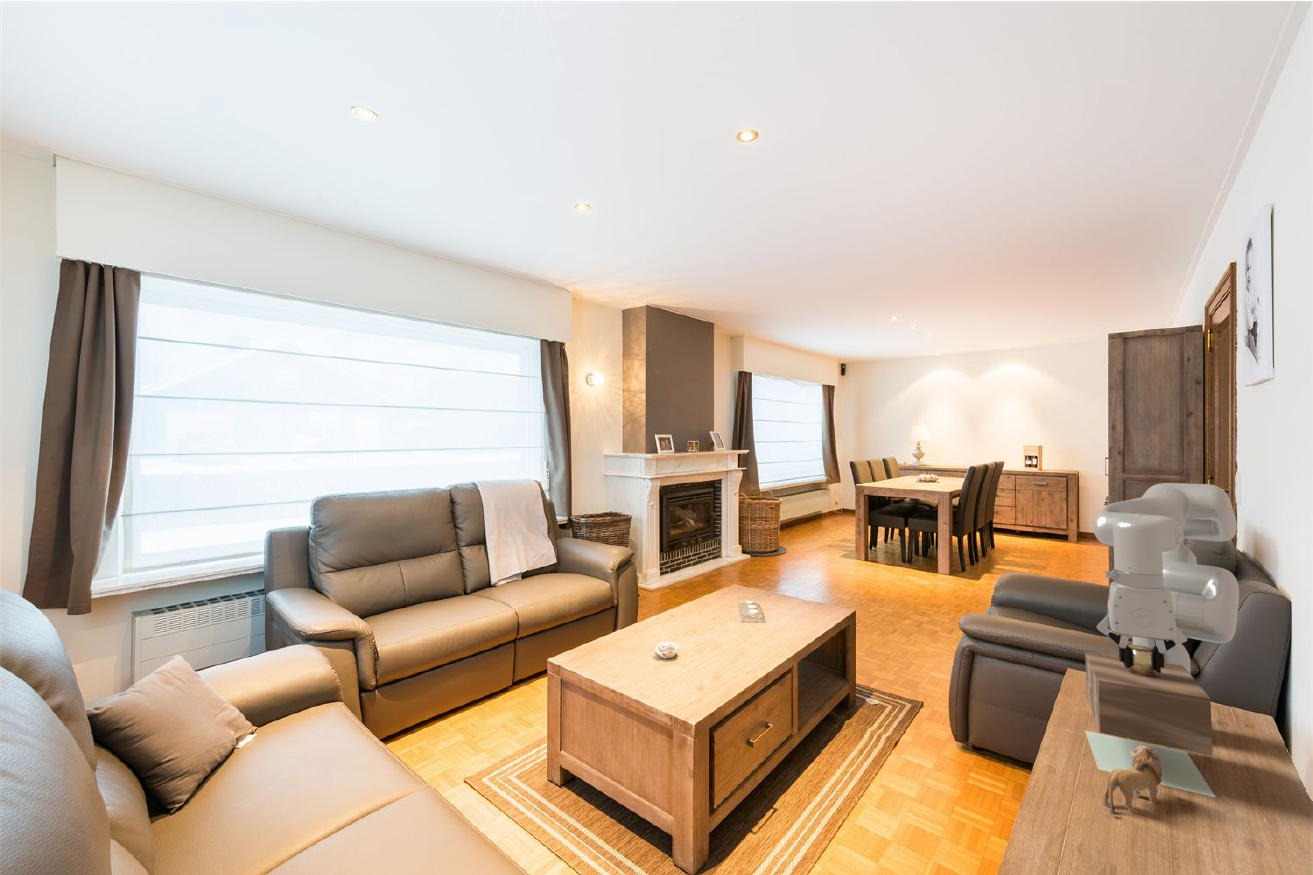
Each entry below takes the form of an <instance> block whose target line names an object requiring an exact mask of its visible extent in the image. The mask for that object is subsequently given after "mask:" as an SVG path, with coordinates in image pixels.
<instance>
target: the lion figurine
mask: <svg viewBox="0 0 1313 875" xmlns="http://www.w3.org/2000/svg"><path fill="white" fill-rule="evenodd" d="M1130 756H1131V757H1132V759H1133V764H1132V768H1130V769H1127V770H1123V769H1114V770H1112V771H1111V772H1109V774H1108V777H1107V783H1106V784H1107V785H1106V789H1105V791H1104V792H1103V794H1102V805H1103V806H1105V807H1107V808H1108V807H1110V808H1109V809H1110V810H1109V813H1110V814H1111V815H1115V812H1116V809H1115V805H1114V800H1113V799H1114V798H1113V796H1114V795H1113V794H1114V792H1115V790H1116V789H1118V787H1119V790H1120V791H1121V793H1122V794H1123V797H1124V806H1125V807H1126V808H1127V809H1128V811H1129V812H1130V813H1133V814H1139V813H1140V812H1139V810H1138V809H1136V808H1134V807H1133V804H1132V803H1133V798H1134V797H1136V798H1141V794H1140V792H1143V791H1145V790H1147V789H1148V791H1149V798H1148V800H1149V803H1150V804H1152V805H1159V803H1158V802H1157V800H1156V799H1157V798H1158V797H1157V796H1158V791H1159V790H1158V786H1159V785H1161V784H1160V783H1161V781H1162V780H1161V777H1162V769H1161V767H1160V766H1161V763H1160V758H1159V756H1158V755H1157V754H1156V753H1155V752H1154V751H1153V749H1151V748H1149V747H1147V746H1143V745H1139V746H1138V747H1136V748H1135V749H1134V751H1130Z"/></svg>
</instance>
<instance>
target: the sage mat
mask: <svg viewBox="0 0 1313 875" xmlns="http://www.w3.org/2000/svg"><path fill="white" fill-rule="evenodd" d="M1084 732H1085V735H1086V738H1087V741H1088V744H1089V746H1090V749H1091V752H1092V755H1093V758H1094V761H1095V763H1096V767H1097V770H1099V771H1102V772H1106V773H1110V772H1111V771H1112V770H1114V769H1123V770H1127V769H1130V768H1132V764H1133V759H1132V757H1131V756H1130V751H1134V749H1135V748H1136V747H1138V746H1139V745H1143V746H1147V747H1149V748H1151V749H1153V751H1154V752H1155V753H1156V754H1157V755H1158V756H1159V758H1160V763H1161V766H1160V767H1161V769H1162V777H1161V780H1162V781H1161V783H1160V784H1159V785H1161V786H1165V787H1170V788H1174V789H1179V790H1182V791H1187V792H1191V793H1194V794H1199V795H1202V796H1203V795H1204V796H1208V797H1212V798H1216V795H1215V794H1214V792H1213V791H1212V789H1211V787H1210V786H1209V784H1208V783H1207V781H1206V780H1205V778H1204V777H1203V775H1202V774H1201V772H1200V770H1199V769H1198V768H1197V766H1196V765H1195V763H1194V761H1193V759H1192V758H1191V756H1190V755H1189V753H1188V752H1187V751H1186V750H1181V749H1177V748H1172V747H1167V746H1162V745H1158V744H1153V743H1148V742H1143V741H1138V740H1133V739H1128V738H1123V737H1119V736H1114V735H1109V734H1104V733H1100V732H1099V733H1098V732H1094V731H1091V730H1089V731H1088V730H1084Z"/></svg>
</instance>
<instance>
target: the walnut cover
mask: <svg viewBox="0 0 1313 875" xmlns="http://www.w3.org/2000/svg"><path fill="white" fill-rule="evenodd" d="M1127 645H1128V648H1129V649H1130V663H1131V668H1126V667H1125V665H1124V664H1123V662H1120V659H1119V655H1115V654H1114V655H1112V654H1105V653H1100V652H1093V651H1092V652H1091V651H1085V652H1084V654H1085V656H1084V657H1085V681H1086V682H1085V683H1086V684H1085V685H1086V699H1087V702H1088V704H1089V707H1090V711H1091V712H1092V715H1093V717H1094V722H1096V725H1097V728H1098V731H1099V734H1104V735H1109V736H1114V737H1118V738H1123V739H1128V740H1133V741H1138V742H1142V743H1147V744H1152V745H1157V746H1162V747H1167V748H1171V749H1176V750H1181V751H1186V752H1187V751H1188V752H1191V753H1192V752H1194V753H1197V754H1203V755H1208V756H1213V734H1212V728H1213V726H1212V725H1213V724H1212V702H1211V697H1210V696H1209V695H1208V693H1206V691H1205V690H1204V689H1203V688H1202V687H1201V685H1200V684H1199V683H1198V682H1197V680H1196V679H1195V678H1194V677H1193V676H1192V675H1190V673H1189V672H1188V671H1187V670H1186V669H1185V667H1184V666H1183V665H1177V664H1170V663H1164V668H1161V673H1157V672H1156V671H1155V665H1154V650H1153V649H1151V648H1149V647H1146V646H1141V645H1133V644H1127Z"/></svg>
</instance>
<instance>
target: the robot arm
mask: <svg viewBox="0 0 1313 875" xmlns="http://www.w3.org/2000/svg"><path fill="white" fill-rule="evenodd" d="M1237 524H1238V522H1237V519H1236V515H1235V512H1234V508H1233V505H1232V502H1231V499H1230V497H1229V496H1228V494H1227V492H1226V491H1225V490H1224V489H1223V488H1222V487H1219V486H1217V485H1215V484H1209V483H1206V484H1205V483H1182V482H1181V483H1179V482H1163V483H1157V484H1154V485H1152V486H1151V487H1149V488H1148V489H1146V491H1145V492H1144V494H1142V496H1141V497H1136V498H1133V499H1128V500H1127V499H1126V500H1122V501H1117V502H1116V501H1115V502H1112V503H1109V504H1107V505H1106V506H1104V507H1103V508H1102V509H1101V510H1100V511H1099V513H1098V514H1096V517H1095V520H1094V523H1093V533H1094V535H1095V538H1096V539H1097V540H1098V542H1100V543H1101V544H1103V545H1105V546H1111V547H1113V557H1114V558H1113V563H1114V567H1113V569H1112V570H1110V571H1107V570H1106V571H1105V578H1106V579H1111V580H1113V581H1111V582H1110V586H1109V590H1108V597H1107V598H1108V599H1107V611H1106V612H1107V613H1106V615H1105V616H1104V617H1103V619H1102V620H1101V621H1099V623H1098V624H1097V625H1096V629H1097V630H1098V631H1099V632H1100V633H1101V634H1103V635H1105V636H1106V637H1109V639H1110V640H1112V641H1113V642H1114V643H1115V644H1116V645H1118V656H1119V659H1120V662H1123V664H1124V665H1125V667H1126V668H1131V663H1130V649H1129V648H1128V645H1129V644H1128V641H1129V638H1130V637H1132V645H1141V646H1146V647H1149V648H1151V649H1153V650H1154V665H1155V671H1156V672H1157V673H1161V668H1164V663H1170V664H1177V665H1183V666H1184V667H1185V669H1186V670H1187V671H1188V672H1189V673H1190V675H1191V658H1190V654H1189V653H1188V651H1187V649H1186V647H1185V646H1184V645H1183V643H1186V642H1187V641H1188V639H1193V640H1198V641H1203V642H1209V643H1215V644H1227V643H1228V642H1231V641H1232V639H1233V638H1234V636H1235V634H1236V629H1237V622H1238V610H1239V603H1240V587H1239V582H1238V580H1237V578H1236V577H1235V575H1234V574H1233V573H1232V572H1231V571H1230V570H1229V569H1225V568H1223V567H1219V566H1212V565H1205V564H1197V556H1196V555H1195V554H1194V552H1192V551H1191V549H1190V548H1188V547H1187V546H1186V545H1185V544H1183V541H1184V539H1188V540H1197V541H1198V540H1199V541H1209V542H1210V541H1211V542H1228V541H1231V540H1232V539H1234V538H1235V536H1236V534H1237V529H1238V525H1237ZM1191 676H1192V675H1191Z"/></svg>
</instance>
